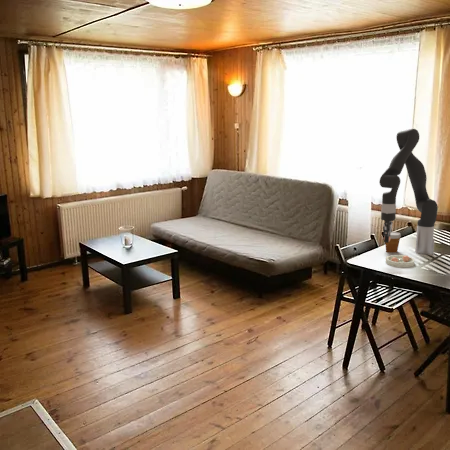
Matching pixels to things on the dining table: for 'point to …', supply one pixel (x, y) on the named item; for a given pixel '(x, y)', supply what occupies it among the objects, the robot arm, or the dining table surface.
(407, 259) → the salmon orange ball
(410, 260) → the ring tray
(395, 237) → the disposable coffee cup
